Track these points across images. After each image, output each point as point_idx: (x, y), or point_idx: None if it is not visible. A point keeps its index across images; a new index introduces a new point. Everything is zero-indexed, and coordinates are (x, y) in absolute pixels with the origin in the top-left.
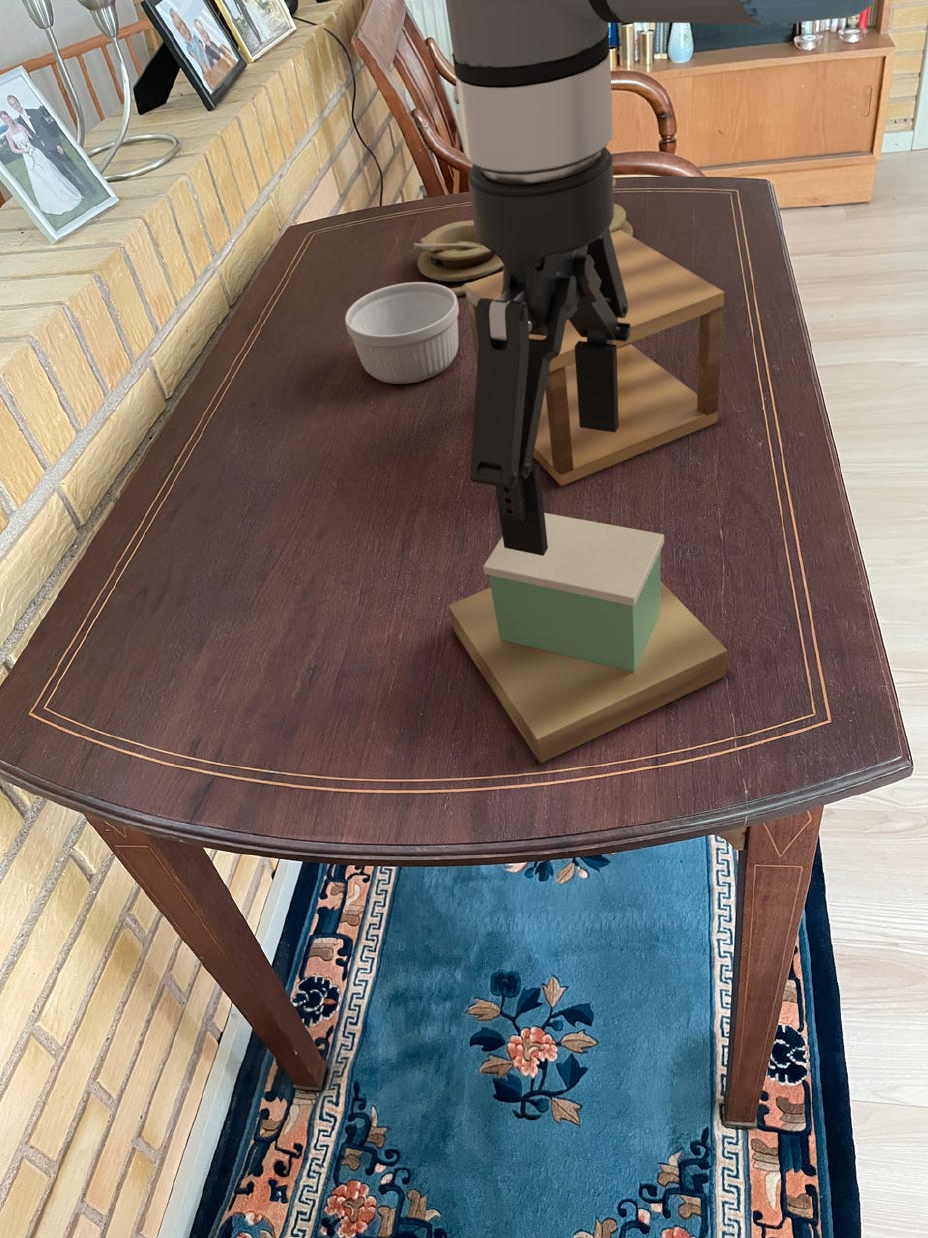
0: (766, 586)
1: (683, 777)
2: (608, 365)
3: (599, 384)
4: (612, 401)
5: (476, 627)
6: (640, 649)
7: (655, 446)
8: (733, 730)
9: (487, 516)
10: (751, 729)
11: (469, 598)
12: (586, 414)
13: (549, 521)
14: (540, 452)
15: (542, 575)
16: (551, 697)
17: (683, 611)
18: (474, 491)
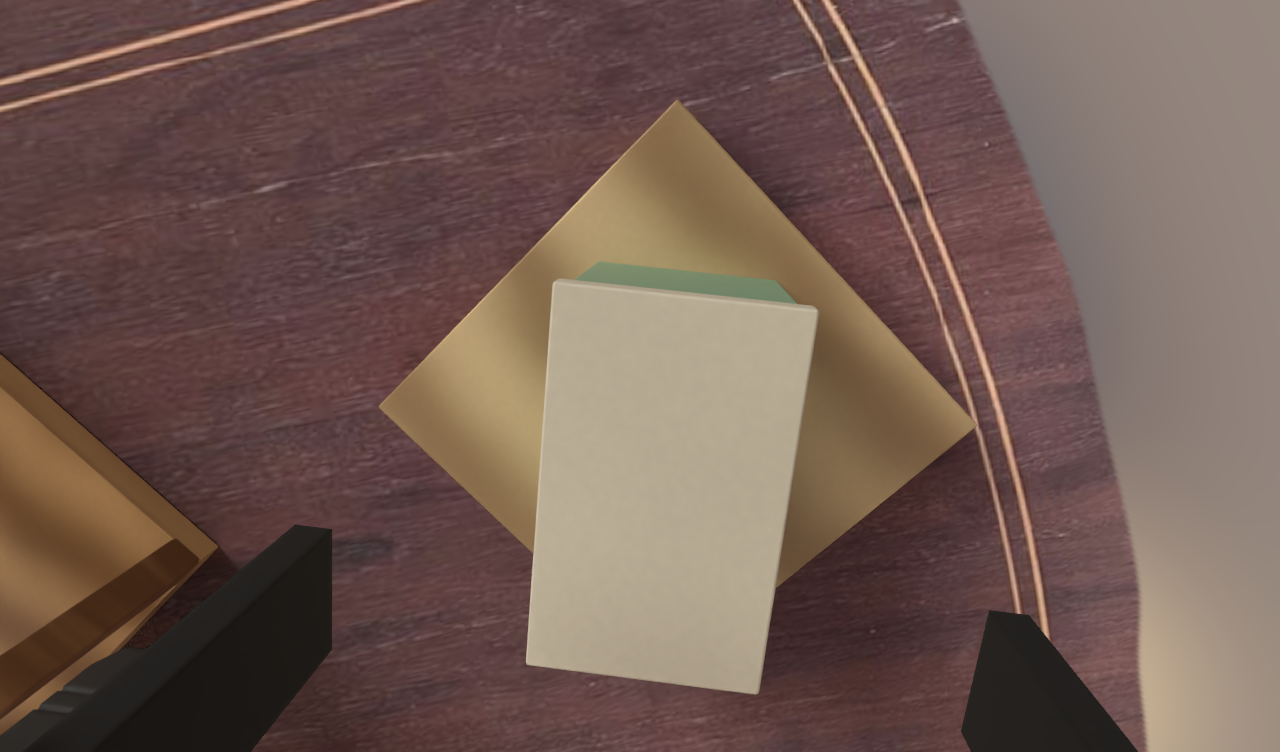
0: (406, 62)
1: (940, 143)
2: (145, 728)
3: (219, 697)
4: (262, 602)
5: None
6: (737, 279)
7: (29, 382)
8: (812, 68)
9: (349, 662)
10: (803, 33)
11: None
12: (302, 658)
13: (563, 583)
14: (141, 618)
15: (769, 552)
16: (869, 425)
17: (582, 214)
18: None
